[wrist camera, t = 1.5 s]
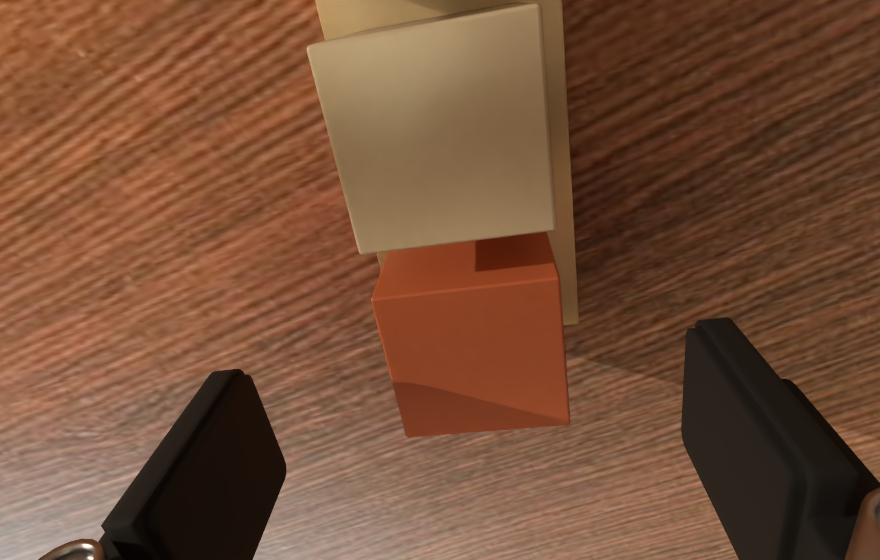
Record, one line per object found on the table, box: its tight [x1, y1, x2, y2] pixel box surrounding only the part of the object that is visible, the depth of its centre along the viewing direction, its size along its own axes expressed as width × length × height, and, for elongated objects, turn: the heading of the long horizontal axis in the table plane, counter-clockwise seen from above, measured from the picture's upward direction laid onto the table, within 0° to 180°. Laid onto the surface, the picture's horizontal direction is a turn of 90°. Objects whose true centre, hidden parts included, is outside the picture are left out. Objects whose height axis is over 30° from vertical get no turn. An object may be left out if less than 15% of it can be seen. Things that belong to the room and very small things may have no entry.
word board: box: [307, 0, 579, 325], centre depth 12 cm, size 15×6×6 cm, turn 9°
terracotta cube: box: [371, 232, 570, 437], centre depth 14 cm, size 4×4×5 cm
